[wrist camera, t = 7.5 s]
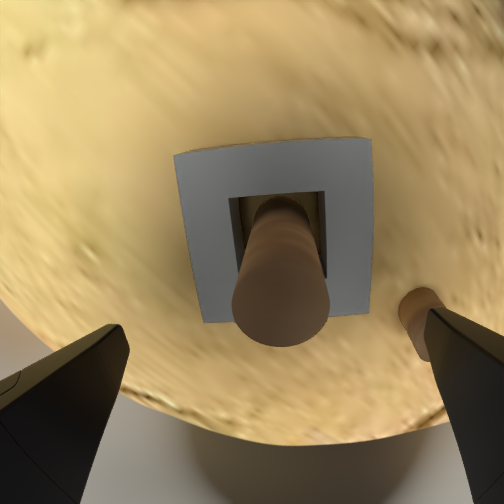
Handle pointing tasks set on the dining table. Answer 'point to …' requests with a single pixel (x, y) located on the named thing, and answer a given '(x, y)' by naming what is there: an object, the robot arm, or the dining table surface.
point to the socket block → (277, 182)
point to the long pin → (281, 278)
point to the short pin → (418, 316)
